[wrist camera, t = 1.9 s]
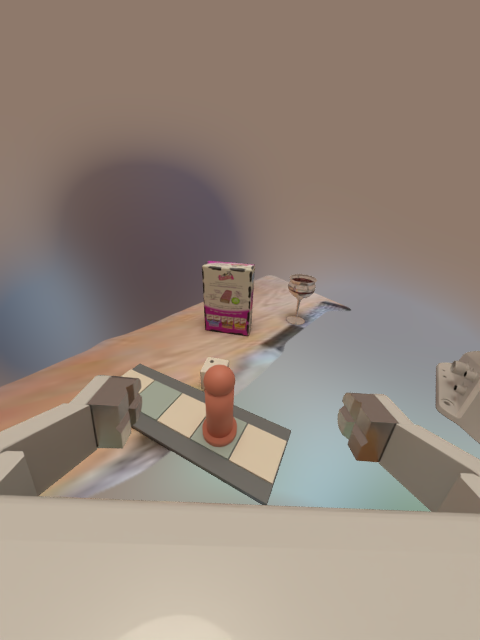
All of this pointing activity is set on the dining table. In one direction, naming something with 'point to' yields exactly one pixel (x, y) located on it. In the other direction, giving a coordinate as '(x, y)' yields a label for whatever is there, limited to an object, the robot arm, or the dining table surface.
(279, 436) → the track board
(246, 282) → the candy bar box
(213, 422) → the pawn
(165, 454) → the dining table surface
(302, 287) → the wineglass
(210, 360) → the die
